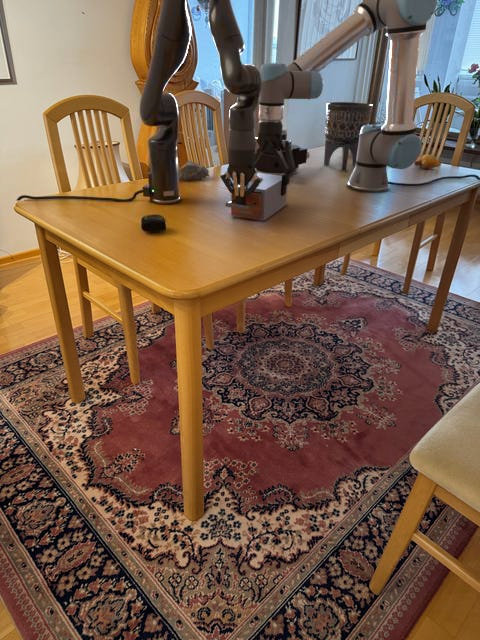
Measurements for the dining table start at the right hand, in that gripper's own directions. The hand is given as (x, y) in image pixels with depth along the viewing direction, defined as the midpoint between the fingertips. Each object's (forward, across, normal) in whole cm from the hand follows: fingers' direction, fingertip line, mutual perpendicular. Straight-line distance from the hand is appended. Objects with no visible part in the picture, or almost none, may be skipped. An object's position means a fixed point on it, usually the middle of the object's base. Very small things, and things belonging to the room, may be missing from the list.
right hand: (267, 192), depth 151 cm
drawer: (+4, 0, -11) cm, 12 cm away
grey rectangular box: (+5, 0, -5) cm, 7 cm away
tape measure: (+5, -18, -39) cm, 43 cm away
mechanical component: (+5, -14, +49) cm, 51 cm away
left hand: (0, 0, -21) cm, 21 cm away
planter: (+5, +6, +76) cm, 76 cm away
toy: (+5, +41, +96) cm, 104 cm away
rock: (+5, -40, +21) cm, 46 cm away
